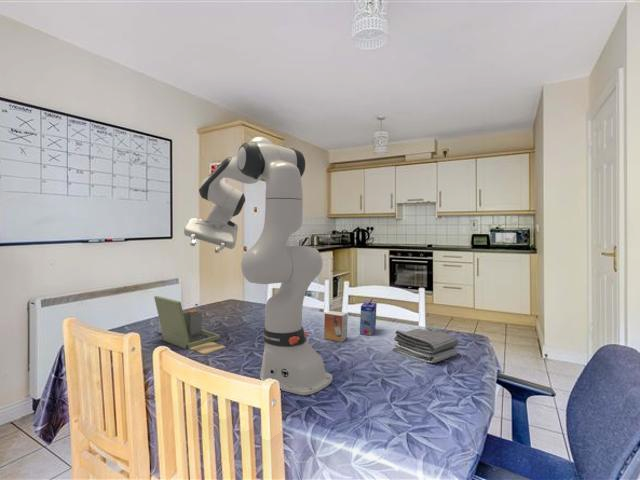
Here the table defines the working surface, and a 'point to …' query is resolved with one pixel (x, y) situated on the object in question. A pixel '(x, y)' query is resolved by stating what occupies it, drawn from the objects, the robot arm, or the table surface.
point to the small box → (335, 326)
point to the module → (193, 325)
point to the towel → (425, 345)
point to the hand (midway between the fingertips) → (204, 248)
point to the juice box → (368, 318)
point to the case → (177, 324)
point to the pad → (207, 347)
